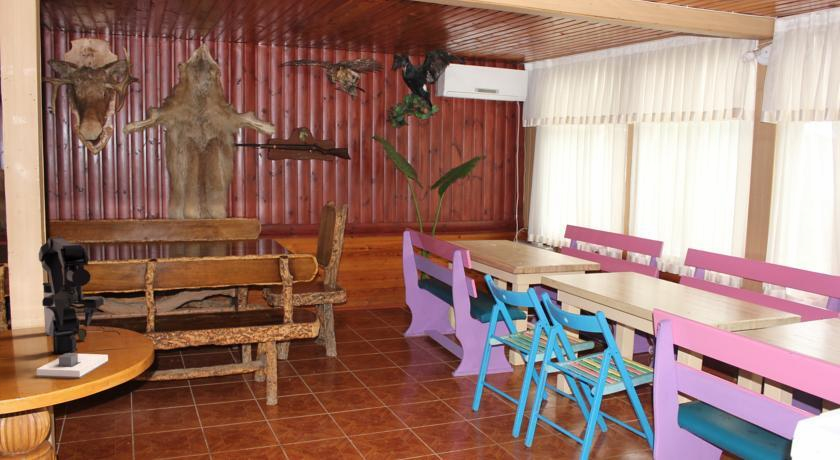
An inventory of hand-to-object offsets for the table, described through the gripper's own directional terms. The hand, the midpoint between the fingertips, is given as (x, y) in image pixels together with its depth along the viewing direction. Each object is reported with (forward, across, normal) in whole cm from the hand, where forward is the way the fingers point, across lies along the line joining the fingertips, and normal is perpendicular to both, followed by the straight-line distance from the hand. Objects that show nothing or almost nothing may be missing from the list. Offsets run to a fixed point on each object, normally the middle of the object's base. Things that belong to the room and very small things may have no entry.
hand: (73, 326), depth 242 cm
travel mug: (+13, -27, +33) cm, 45 cm away
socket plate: (+12, +5, -10) cm, 16 cm away
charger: (+11, +5, -13) cm, 18 cm away
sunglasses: (+13, -10, +32) cm, 36 cm away
